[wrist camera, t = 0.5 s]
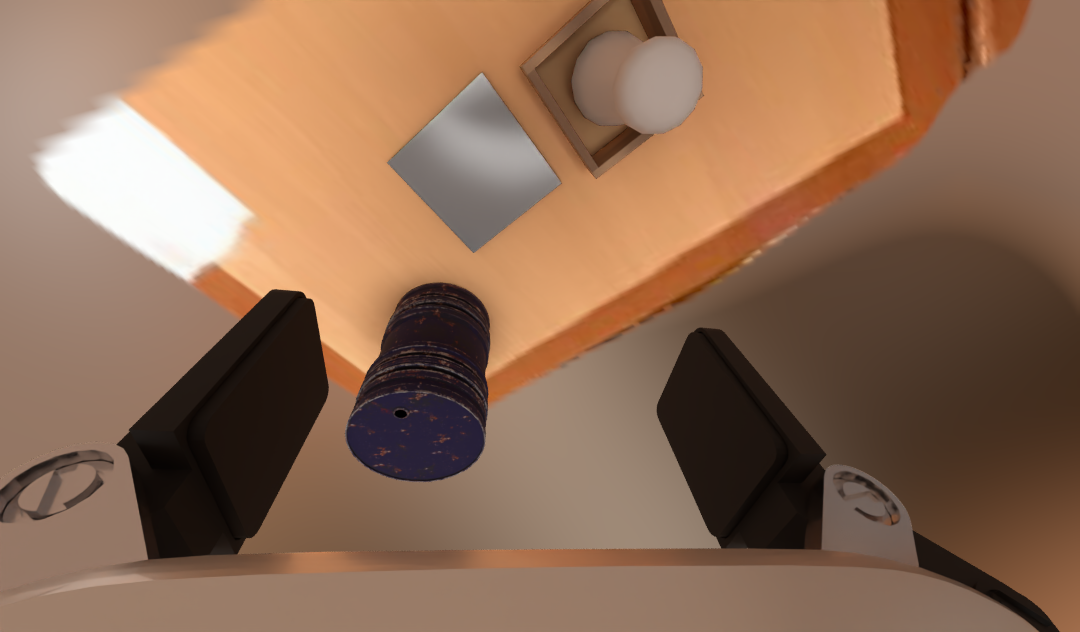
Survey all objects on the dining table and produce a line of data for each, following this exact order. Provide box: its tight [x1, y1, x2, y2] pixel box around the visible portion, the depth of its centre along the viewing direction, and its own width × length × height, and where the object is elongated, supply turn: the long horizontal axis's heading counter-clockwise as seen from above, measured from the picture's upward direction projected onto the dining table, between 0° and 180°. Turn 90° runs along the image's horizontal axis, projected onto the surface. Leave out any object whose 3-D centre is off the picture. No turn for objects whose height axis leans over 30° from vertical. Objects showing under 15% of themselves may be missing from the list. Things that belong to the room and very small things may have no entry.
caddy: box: [520, 0, 704, 179], centre depth 28 cm, size 9×9×4 cm
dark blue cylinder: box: [345, 283, 490, 482], centre depth 34 cm, size 10×10×15 cm
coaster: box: [387, 73, 561, 253], centre depth 32 cm, size 10×10×1 cm
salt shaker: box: [571, 31, 703, 134], centre depth 24 cm, size 6×6×13 cm
